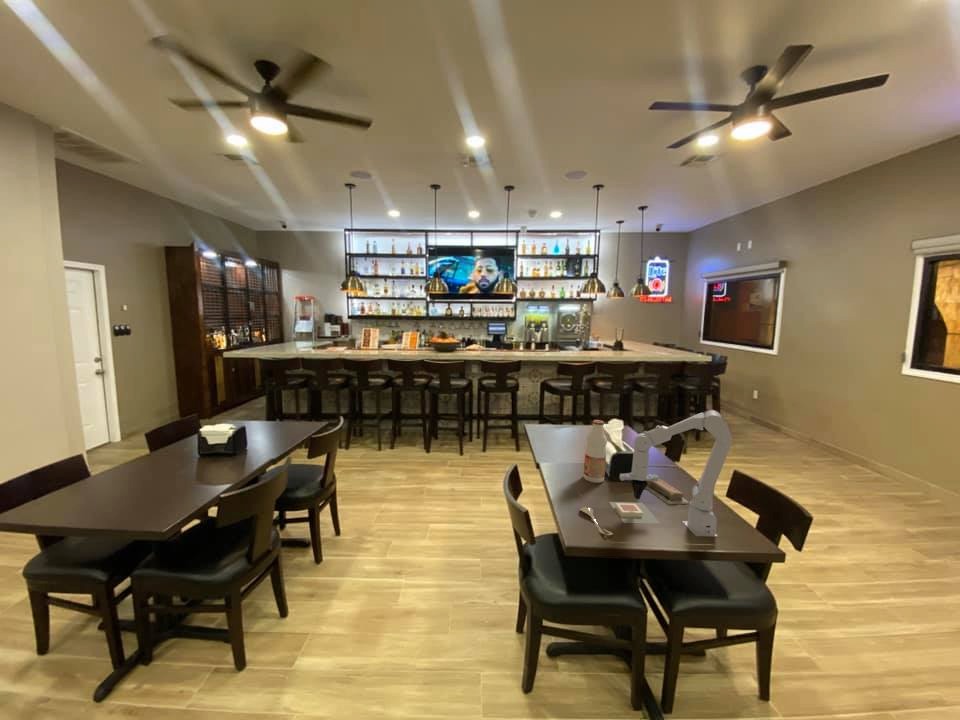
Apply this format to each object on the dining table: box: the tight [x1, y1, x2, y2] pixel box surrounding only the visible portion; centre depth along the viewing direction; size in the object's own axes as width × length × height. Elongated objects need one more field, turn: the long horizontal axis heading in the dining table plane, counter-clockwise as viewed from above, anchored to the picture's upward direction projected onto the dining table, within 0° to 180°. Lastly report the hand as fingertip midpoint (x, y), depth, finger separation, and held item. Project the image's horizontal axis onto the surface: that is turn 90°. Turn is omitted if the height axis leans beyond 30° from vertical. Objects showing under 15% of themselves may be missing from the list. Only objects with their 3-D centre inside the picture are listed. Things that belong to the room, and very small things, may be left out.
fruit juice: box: [582, 419, 608, 484], centre depth 184 cm, size 9×9×28 cm
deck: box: [615, 503, 643, 517], centre depth 155 cm, size 7×2×8 cm
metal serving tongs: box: [579, 506, 614, 536], centre depth 146 cm, size 20×4×5 cm
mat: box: [608, 501, 662, 525], centre depth 155 cm, size 16×14×1 cm
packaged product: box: [644, 478, 690, 505], centre depth 172 cm, size 18×5×10 cm
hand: (636, 497), depth 154 cm, fingers closed
